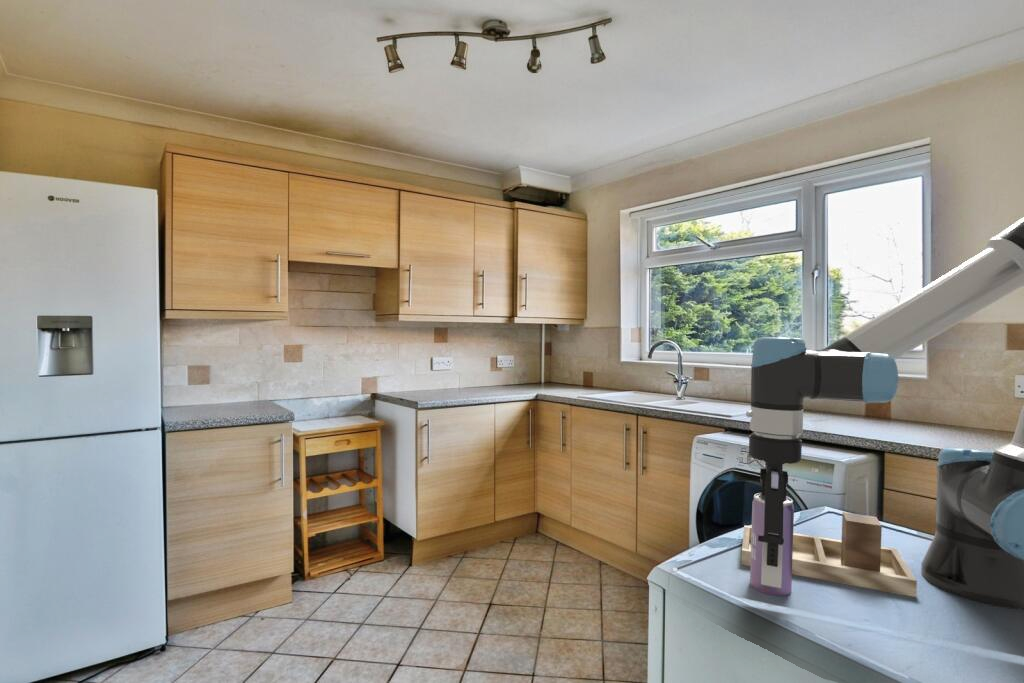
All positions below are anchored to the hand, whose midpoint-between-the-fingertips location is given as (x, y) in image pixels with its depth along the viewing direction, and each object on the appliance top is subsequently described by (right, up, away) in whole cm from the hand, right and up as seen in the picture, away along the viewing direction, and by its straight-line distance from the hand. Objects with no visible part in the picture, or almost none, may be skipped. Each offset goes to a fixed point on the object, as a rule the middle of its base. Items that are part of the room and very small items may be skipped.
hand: (770, 568), depth 86 cm
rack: (+13, -4, +9) cm, 17 cm away
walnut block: (+19, -3, +7) cm, 20 cm away
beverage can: (0, -4, 0) cm, 4 cm away
